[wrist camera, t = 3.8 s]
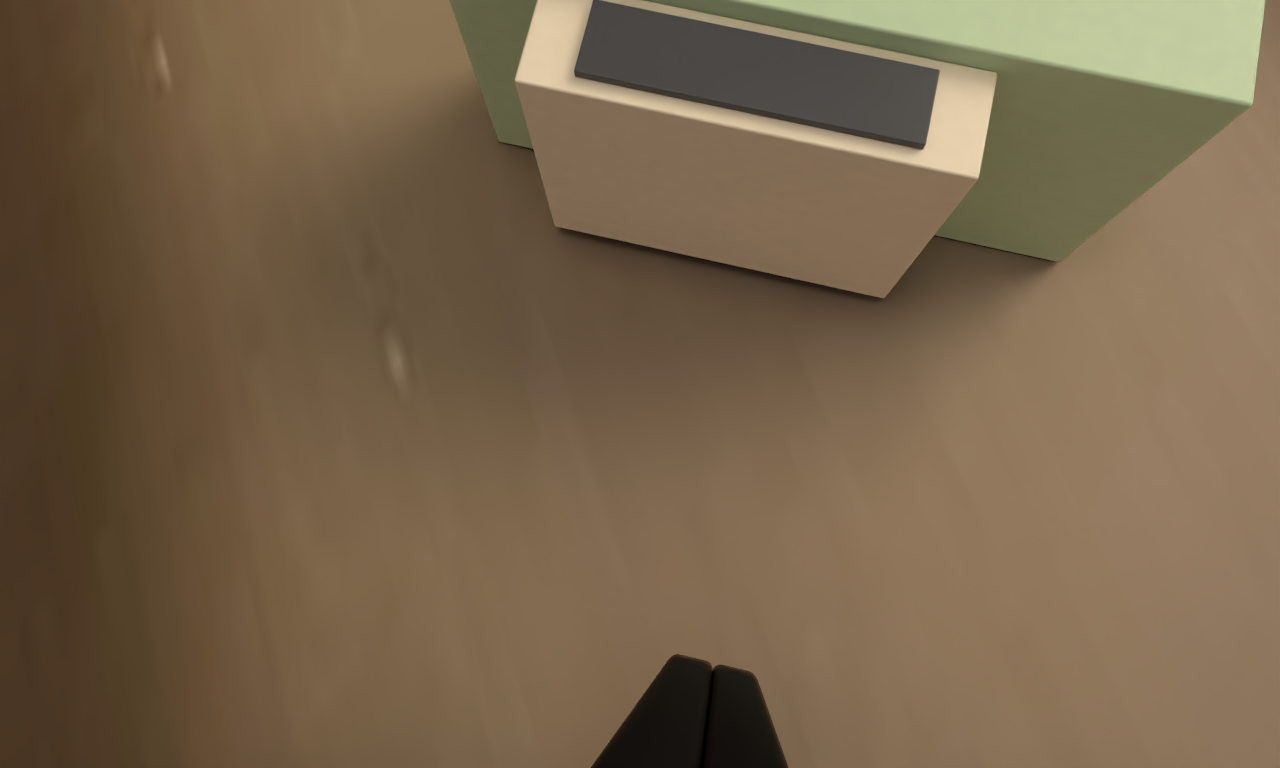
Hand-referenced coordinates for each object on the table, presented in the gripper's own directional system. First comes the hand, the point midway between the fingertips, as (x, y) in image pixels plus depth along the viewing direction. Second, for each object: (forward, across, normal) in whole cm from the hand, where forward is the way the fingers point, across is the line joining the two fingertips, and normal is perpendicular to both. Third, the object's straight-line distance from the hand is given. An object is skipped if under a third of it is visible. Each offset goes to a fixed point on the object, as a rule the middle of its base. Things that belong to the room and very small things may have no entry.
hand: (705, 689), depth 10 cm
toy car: (+17, 0, +1) cm, 17 cm away
